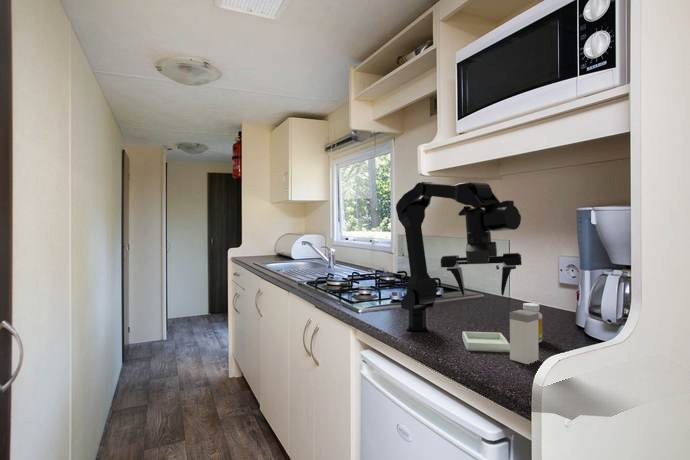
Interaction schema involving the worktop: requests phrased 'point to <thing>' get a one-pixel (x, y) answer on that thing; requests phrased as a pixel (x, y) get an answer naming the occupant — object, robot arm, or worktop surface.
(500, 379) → the worktop surface
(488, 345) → the tray
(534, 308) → the supplement bottle
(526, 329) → the block
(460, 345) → the worktop surface
